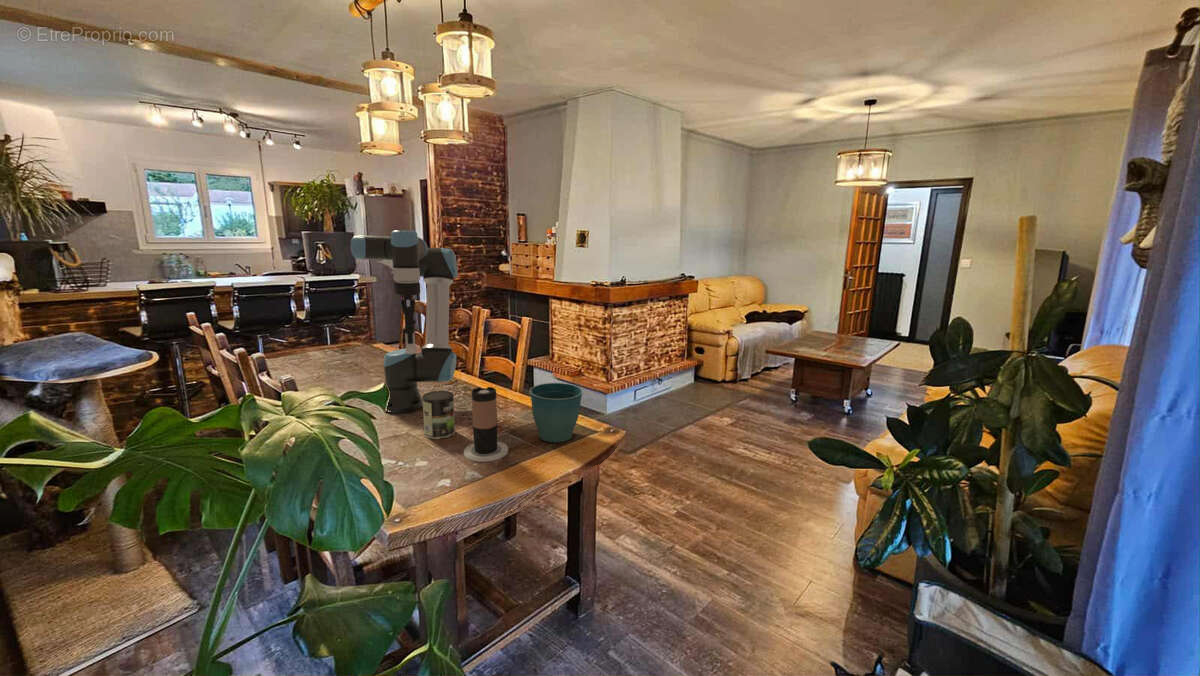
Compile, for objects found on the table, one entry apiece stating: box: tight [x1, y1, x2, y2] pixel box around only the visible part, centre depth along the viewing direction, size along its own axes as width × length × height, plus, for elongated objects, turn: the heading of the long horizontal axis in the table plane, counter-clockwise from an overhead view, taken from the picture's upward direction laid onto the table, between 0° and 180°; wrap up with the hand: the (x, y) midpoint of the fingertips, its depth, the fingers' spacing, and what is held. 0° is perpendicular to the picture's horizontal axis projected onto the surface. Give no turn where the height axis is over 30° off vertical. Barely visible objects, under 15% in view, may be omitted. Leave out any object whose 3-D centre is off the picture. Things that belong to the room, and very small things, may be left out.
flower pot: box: [529, 382, 583, 443], centre depth 166 cm, size 18×18×17 cm
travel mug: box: [471, 386, 498, 454], centre depth 151 cm, size 8×8×20 cm
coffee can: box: [421, 390, 456, 440], centre depth 165 cm, size 10×10×14 cm
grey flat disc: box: [463, 440, 509, 463], centre depth 153 cm, size 14×14×1 cm
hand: (410, 348), depth 151 cm, fingers open, 13 cm apart
